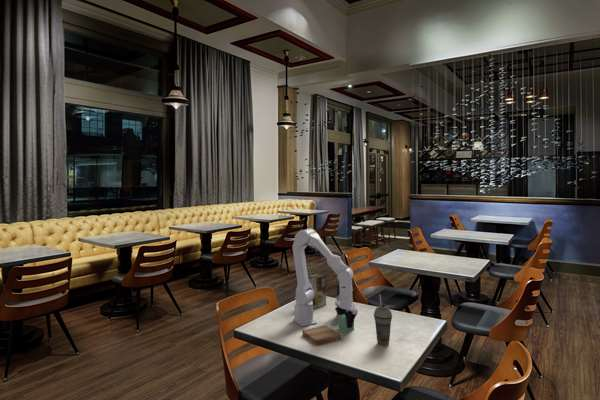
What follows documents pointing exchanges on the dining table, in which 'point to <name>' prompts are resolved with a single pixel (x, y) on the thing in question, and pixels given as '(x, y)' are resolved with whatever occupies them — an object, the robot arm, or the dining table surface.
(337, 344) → the dining table surface
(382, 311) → the beverage cup
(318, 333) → the walnut base
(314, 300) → the coffee box
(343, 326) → the teal block
